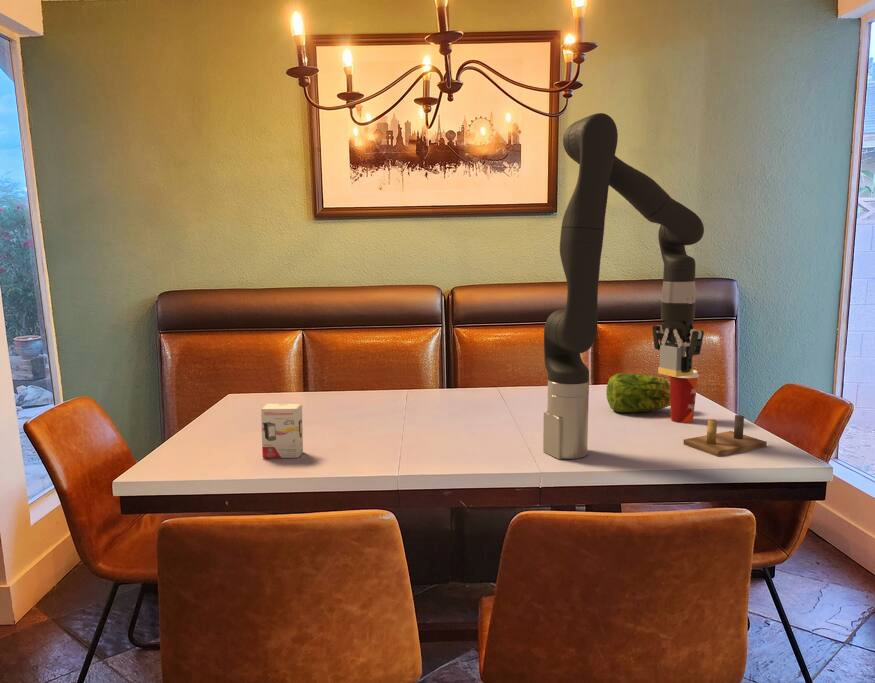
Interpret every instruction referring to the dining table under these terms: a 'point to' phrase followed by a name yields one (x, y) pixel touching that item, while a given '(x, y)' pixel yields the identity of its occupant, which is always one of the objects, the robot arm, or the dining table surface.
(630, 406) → the lettuce
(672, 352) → the sleeve
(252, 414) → the dining table surface
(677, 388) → the paper cup
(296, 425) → the ink box
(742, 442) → the pin board
